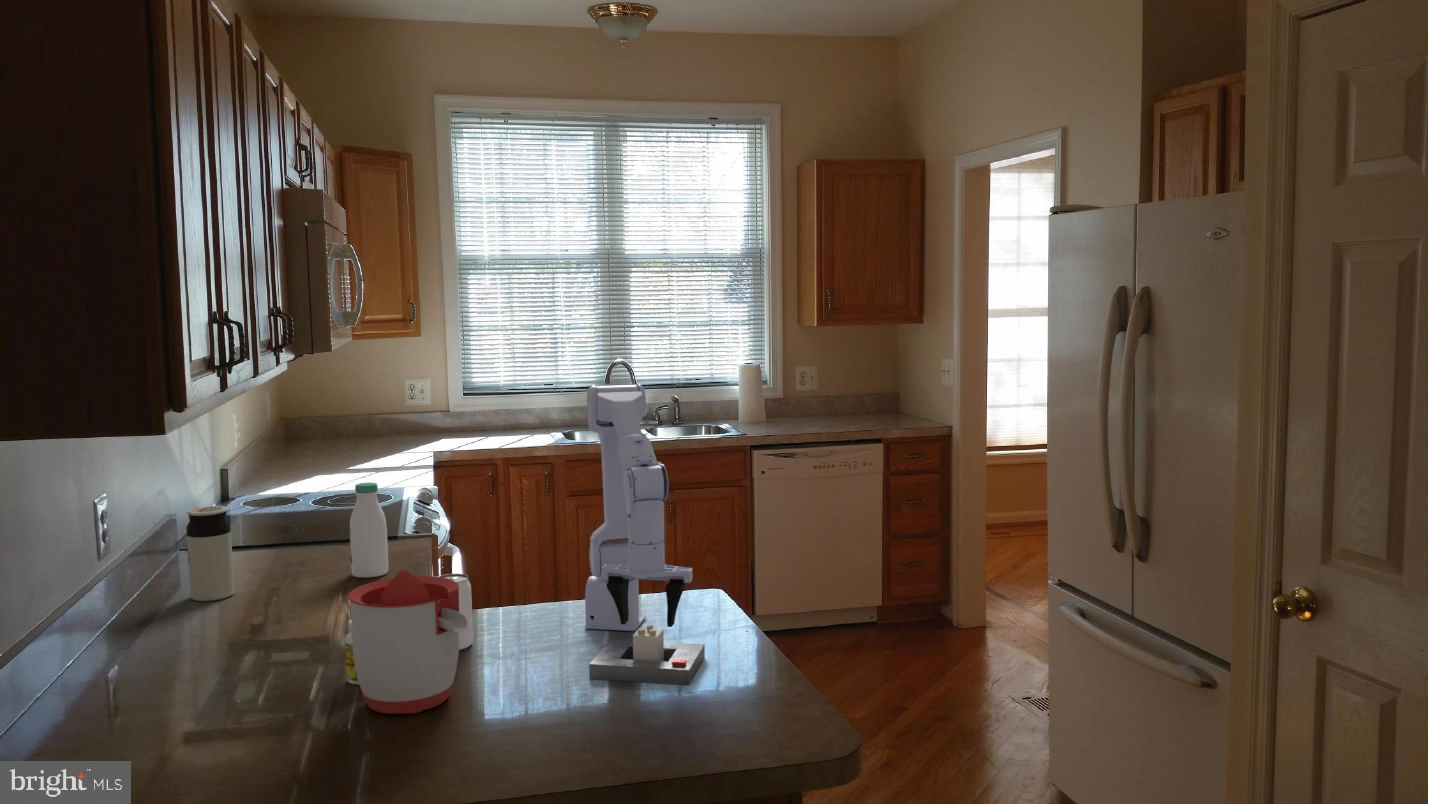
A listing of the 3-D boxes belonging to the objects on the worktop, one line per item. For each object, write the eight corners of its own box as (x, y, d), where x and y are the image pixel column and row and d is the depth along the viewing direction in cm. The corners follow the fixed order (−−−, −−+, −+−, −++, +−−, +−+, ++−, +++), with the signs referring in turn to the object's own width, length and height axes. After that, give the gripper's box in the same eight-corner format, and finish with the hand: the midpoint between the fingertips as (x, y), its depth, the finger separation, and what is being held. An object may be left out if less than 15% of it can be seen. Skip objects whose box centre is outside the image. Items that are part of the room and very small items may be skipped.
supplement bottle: (390, 677, 162) (387, 618, 161) (361, 688, 157) (358, 627, 156) (368, 671, 165) (365, 612, 164) (339, 681, 160) (336, 621, 159)
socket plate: (589, 678, 160) (589, 660, 160) (611, 652, 172) (611, 635, 171) (689, 685, 157) (688, 666, 157) (704, 658, 169) (704, 640, 168)
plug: (633, 671, 163) (632, 630, 162) (640, 663, 167) (639, 622, 166) (657, 673, 162) (657, 631, 162) (664, 664, 166) (663, 624, 165)
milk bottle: (396, 572, 225) (392, 482, 223) (367, 580, 218) (363, 488, 216) (372, 567, 229) (369, 479, 227) (344, 575, 222) (339, 485, 220)
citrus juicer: (436, 729, 142) (431, 588, 140) (330, 715, 147) (323, 579, 145) (492, 688, 157) (488, 560, 155) (394, 677, 162) (389, 553, 160)
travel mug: (241, 590, 212) (236, 505, 210) (223, 601, 204) (218, 513, 202) (202, 591, 211) (196, 505, 210) (183, 602, 203) (177, 513, 202)
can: (480, 645, 176) (478, 577, 175) (447, 655, 172) (445, 585, 170) (459, 637, 181) (457, 570, 180) (427, 646, 176) (424, 578, 175)
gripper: (595, 545, 160) (596, 629, 161) (685, 548, 157) (686, 634, 158) (608, 534, 167) (609, 615, 168) (695, 537, 164) (695, 620, 165)
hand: (647, 623), depth 164 cm, fingers open, 7 cm apart
